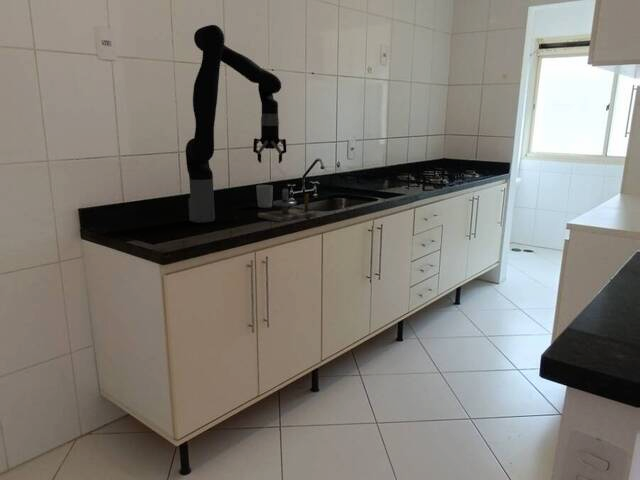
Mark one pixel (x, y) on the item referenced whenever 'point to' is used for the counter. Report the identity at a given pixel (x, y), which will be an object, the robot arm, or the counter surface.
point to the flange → (285, 200)
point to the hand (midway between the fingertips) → (270, 162)
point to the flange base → (288, 213)
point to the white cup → (264, 195)
